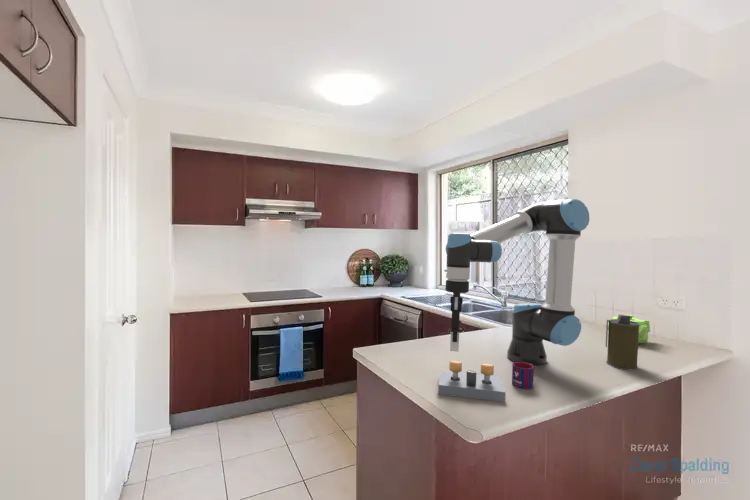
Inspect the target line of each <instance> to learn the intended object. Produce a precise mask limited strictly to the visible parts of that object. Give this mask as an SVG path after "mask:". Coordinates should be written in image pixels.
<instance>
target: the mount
mask: <svg viewBox="0 0 750 500" xmlns="http://www.w3.org/2000/svg"><path fill="white" fill-rule="evenodd" d="M452 377H453V372H452V371H450V370H440V373H439V382H438V395H441V396H451V397H458V398H459V397H460V398H469V399H475V400H476V399H477V400H484V401H485V400H486V401H494V402H495V401H496V402H502V403H505V402H506V390H505V385H504V383H503V379H502V377H501V376H499V375H490V382H489V383H486V382H484V374H481V373H480V374H478V373H476V386H474V387H471V386H468V385H466V379H467V372H462V371H461V372H458V379H453V378H452Z"/></svg>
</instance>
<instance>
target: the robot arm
mask: <svg viewBox="0 0 750 500" xmlns="http://www.w3.org/2000/svg"><path fill="white" fill-rule="evenodd" d="M589 223H590V213H589V210H588V207H587V205H585V203H584V202H583V201H582V200H580V199H576V198H564V199H556V200H545V201H544V200H543V201H540V202H538V203H535V204H532V205H530V206H528V207H525V208H523V209H520V210H518V211H516V212H515V214H514V215H513V216H511V217H509V218H506V219H504V220H501V221H499V222H498V223H497V222H496V223H494V224H492V225H490V226H487V227H485V228H482V229H481V230H478V231H476V232H473V233H471V234H470V233H465V232H464V233H463V232H462V233H461V232H451V233H449V234H448V235H447V243H446V245H445V253H446V268H445V269H444V273H446V274H445V278H446V280H445V291H446V292H448V293H452V296H450V301H449V302H450V311H451V327H450V328H449V330H448V332H449V333H450V340H449V341H450V346H449V351H450V352H456V353H459V347H460V344H459V343H460V332H461V331H462V328H460V315H461V314H460V313H461V312H462V308H463V307H462V305H463V301H464V300H463V299H464V297H463V296H462V297H461V294H467V293H469V291H470V290H469V289H470V281H469V280H470V275H471V274H470V272H471V263H489V264H490V263H496V262H498V261H499V260H500V259H501V257H502V251H503V250H502V246H501V243H504V242H506V241H508V240H511V239H513V238H515V237H517V236H519V235H522V234H524V235H527V234H530V233H532V232H540V231H541V232H542V231H543V232H544V231H545V236H546V237H547V238H548V239H549V245H548V246H549V247H548V259H547V260H548V261H547V276H546V287H545V288H546V289H545V290H546V291H545V299H544V300H545V301H544V302H543V303H538V302H537V303H536V302H535V303H530V302H529V303H528V302H526V303H516V304H515V305H513V310H512V332H511V333H512V337H511V341H510V343H509V345H508V348H507V350H506V351H507V352H506V353H507V354H506V357H507V358H508V359H509V360H510V361H512V362H524V363H529V364H533V365H534V366H540V365H544V364H545V365H546V363H547V362H548V361H547V358H548V357H547V353H546V350H545V346H544V342H543V341H547V342H549V343H552V344H554V345H559V346H562V347H563V346H564V347H566V346H570V345H572V344H573V343H575V342H576V341H577V340H578V338H579V336H580V334H581V332H582V322H581V321H580V319H579V317H577V316H576V315H575V314H576V312H575V310H576V309H575V308H574V307H573V306H572V303H571V302H572V291H573V277H574V262H575V249H576V241H577V240H578V239H579V238H580V237H581V236H582V235H581V233H582V231H584V230H586V229H587V228H588V225H589Z"/></svg>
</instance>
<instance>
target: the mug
mask: <svg viewBox="0 0 750 500" xmlns="http://www.w3.org/2000/svg"><path fill="white" fill-rule="evenodd" d="M511 367H512V368H511V369H512V372H511V384H512V385H513V386H514V387H515V388H518V389H521V390H522V389H524V390H531V389H532V388H533V387H534V374H535V373H534V372H535V365H533V364H529V363H524V362H515V361H513V363H512V366H511Z"/></svg>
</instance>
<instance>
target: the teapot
mask: <svg viewBox="0 0 750 500" xmlns="http://www.w3.org/2000/svg"><path fill="white" fill-rule="evenodd" d="M628 315H629V316H631V317H632V318H630V321H633V322H637V323H639V324H640V326H639V336H638V344H639V343H641V344H646V343H647V342H648V341H649V333H650V332H651V327H650V325H651V324H650V320H647V319H639V318H637V317H633V316H634V315H632V314H628ZM617 318H618V316H613V317H612V319H617ZM610 319H611V318H610ZM610 319H609V318H608V320H610ZM608 332H609V322H608Z"/></svg>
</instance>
